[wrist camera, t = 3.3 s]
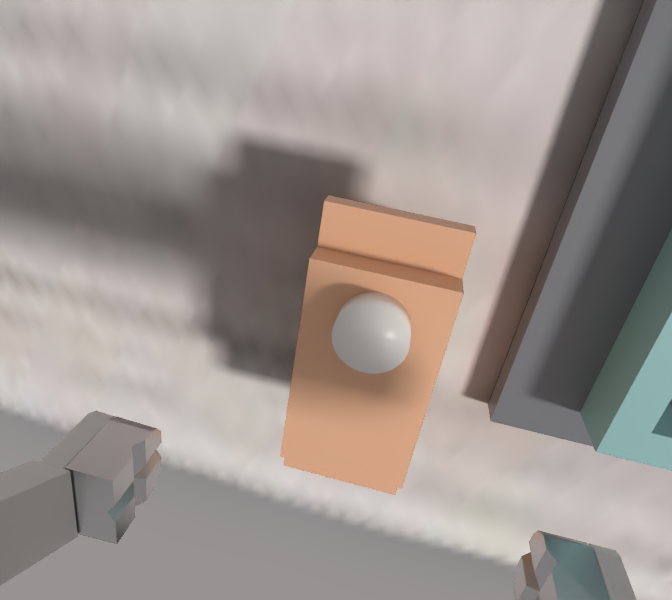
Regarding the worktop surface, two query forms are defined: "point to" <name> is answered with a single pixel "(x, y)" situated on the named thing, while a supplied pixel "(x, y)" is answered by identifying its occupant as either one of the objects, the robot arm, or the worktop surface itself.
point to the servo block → (371, 340)
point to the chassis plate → (608, 277)
